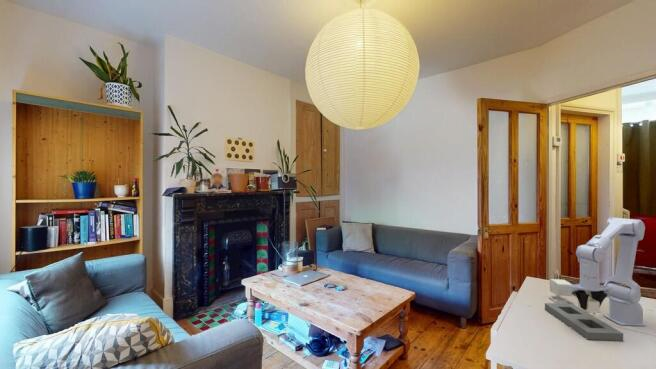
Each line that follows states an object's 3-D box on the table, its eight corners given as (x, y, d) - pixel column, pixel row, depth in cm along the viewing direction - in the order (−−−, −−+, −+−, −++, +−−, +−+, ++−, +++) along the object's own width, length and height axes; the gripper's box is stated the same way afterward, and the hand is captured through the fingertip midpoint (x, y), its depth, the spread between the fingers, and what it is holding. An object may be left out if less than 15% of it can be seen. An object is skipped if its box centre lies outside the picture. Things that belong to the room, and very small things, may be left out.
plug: (588, 309, 111) (588, 296, 111) (599, 315, 106) (599, 301, 106) (578, 309, 112) (578, 296, 112) (588, 315, 107) (588, 301, 107)
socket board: (572, 310, 125) (572, 303, 125) (623, 341, 101) (623, 333, 101) (544, 309, 127) (544, 303, 126) (588, 340, 103) (588, 332, 103)
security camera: (572, 304, 131) (572, 284, 131) (555, 303, 132) (555, 283, 132) (563, 298, 137) (563, 279, 137) (547, 297, 138) (547, 278, 138)
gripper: (600, 272, 112) (600, 304, 112) (562, 271, 113) (562, 303, 114) (616, 278, 105) (616, 313, 105) (575, 277, 106) (576, 311, 107)
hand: (589, 308), depth 109 cm, fingers closed on plug, 4 cm apart
